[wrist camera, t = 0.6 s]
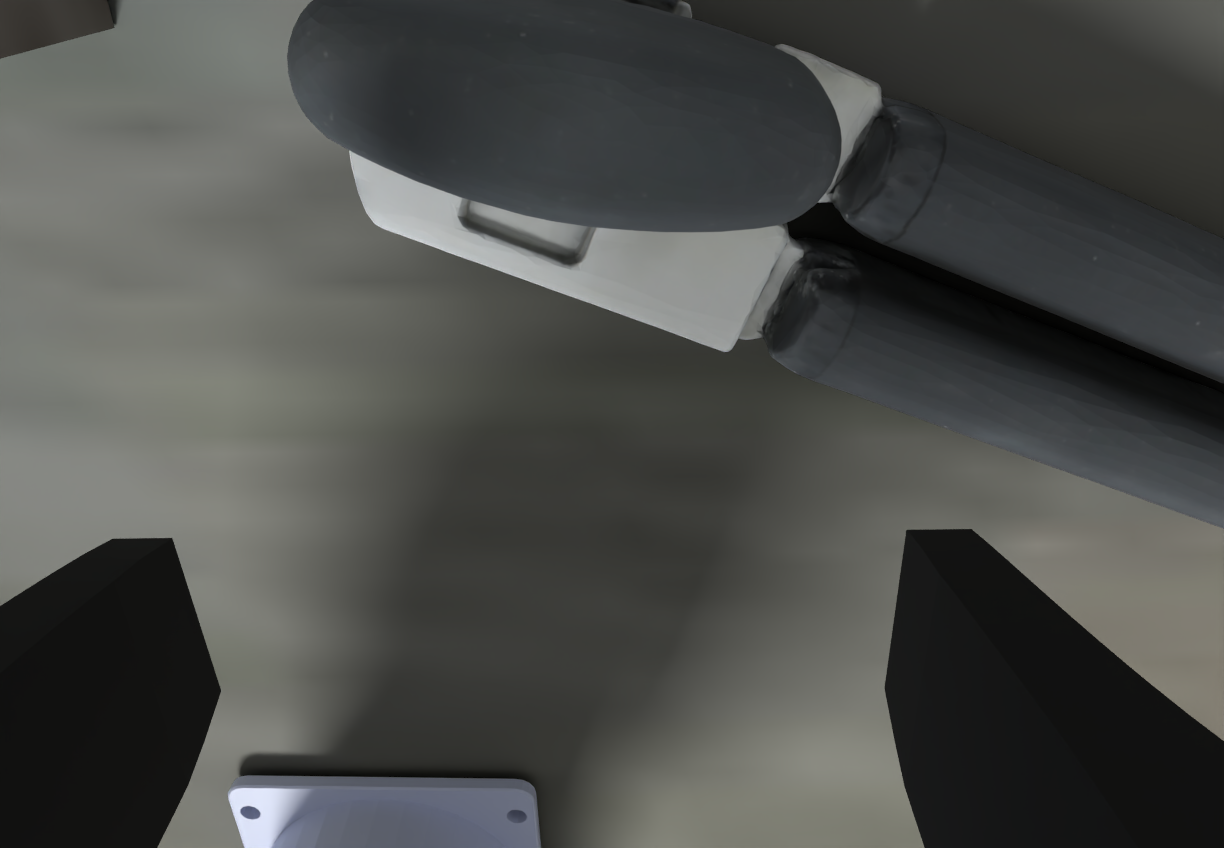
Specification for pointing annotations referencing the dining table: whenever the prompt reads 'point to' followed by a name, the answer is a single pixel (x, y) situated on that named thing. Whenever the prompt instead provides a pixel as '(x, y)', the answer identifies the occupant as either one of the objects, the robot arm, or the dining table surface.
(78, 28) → the box
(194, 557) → the dining table surface
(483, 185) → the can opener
